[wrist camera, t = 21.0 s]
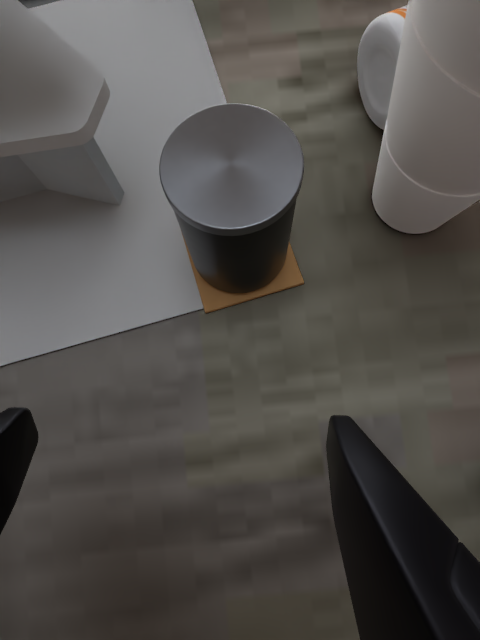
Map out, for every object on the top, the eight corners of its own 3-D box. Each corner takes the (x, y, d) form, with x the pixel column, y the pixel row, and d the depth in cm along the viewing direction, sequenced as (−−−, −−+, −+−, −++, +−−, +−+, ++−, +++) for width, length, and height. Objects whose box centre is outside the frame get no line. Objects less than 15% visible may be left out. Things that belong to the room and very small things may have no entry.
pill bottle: (373, 148, 27) (520, 94, 28) (424, 111, 21) (611, 43, 22) (343, 54, 26) (496, 1, 27) (387, -14, 20) (582, -80, 21)
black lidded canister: (220, 313, 23) (202, 255, 15) (172, 233, 24) (134, 143, 17) (307, 264, 24) (333, 184, 16) (256, 188, 25) (256, 81, 17)
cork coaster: (303, 284, 24) (304, 282, 24) (205, 313, 24) (205, 312, 24) (271, 197, 26) (272, 195, 25) (179, 224, 25) (178, 222, 25)
